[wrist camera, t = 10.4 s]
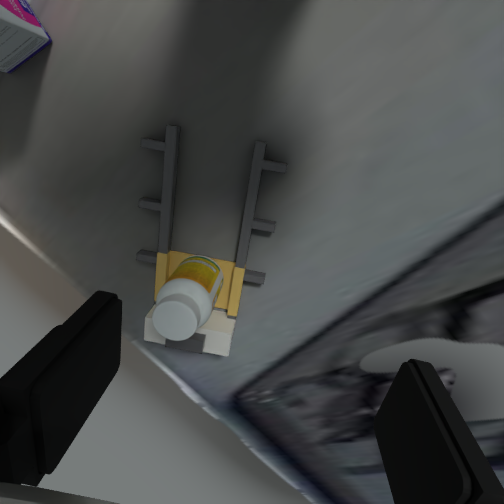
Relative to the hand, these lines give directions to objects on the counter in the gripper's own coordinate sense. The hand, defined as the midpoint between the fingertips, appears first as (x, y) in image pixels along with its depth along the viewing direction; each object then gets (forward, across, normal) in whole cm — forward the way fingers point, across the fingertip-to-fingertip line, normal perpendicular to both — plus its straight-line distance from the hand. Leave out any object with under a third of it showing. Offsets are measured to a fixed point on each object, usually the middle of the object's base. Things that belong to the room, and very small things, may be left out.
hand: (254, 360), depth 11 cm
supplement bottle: (+24, +6, +11) cm, 27 cm away
